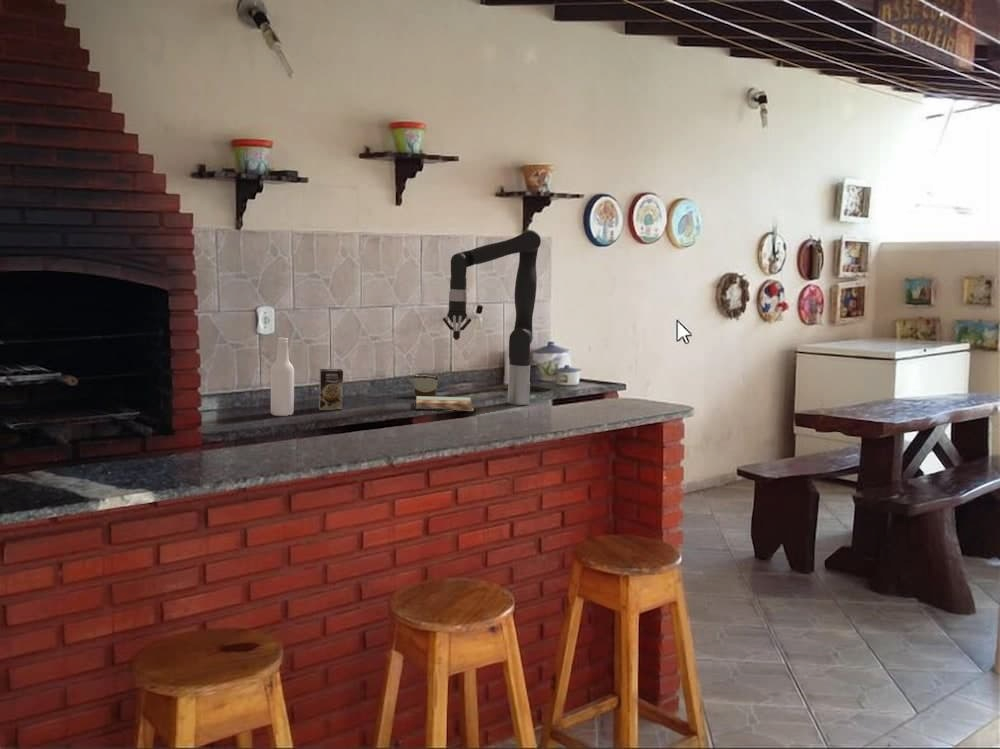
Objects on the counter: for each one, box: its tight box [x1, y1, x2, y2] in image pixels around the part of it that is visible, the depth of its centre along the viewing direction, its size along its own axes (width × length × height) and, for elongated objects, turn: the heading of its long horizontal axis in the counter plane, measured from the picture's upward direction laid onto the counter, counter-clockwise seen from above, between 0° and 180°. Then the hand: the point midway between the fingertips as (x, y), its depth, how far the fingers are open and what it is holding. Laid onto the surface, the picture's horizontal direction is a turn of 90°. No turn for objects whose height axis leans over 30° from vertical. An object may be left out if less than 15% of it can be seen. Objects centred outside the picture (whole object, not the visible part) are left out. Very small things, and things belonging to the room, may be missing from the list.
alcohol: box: [270, 336, 295, 417], centre depth 366 cm, size 9×9×30 cm
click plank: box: [415, 396, 472, 404], centre depth 401 cm, size 23×8×2 cm, turn 96°
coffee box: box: [318, 368, 344, 411], centre depth 382 cm, size 9×6×16 cm
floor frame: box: [417, 400, 475, 412], centre depth 398 cm, size 24×16×3 cm, turn 96°
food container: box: [411, 372, 440, 397], centre depth 421 cm, size 12×6×10 cm, turn 84°
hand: (456, 339), depth 409 cm, fingers closed
